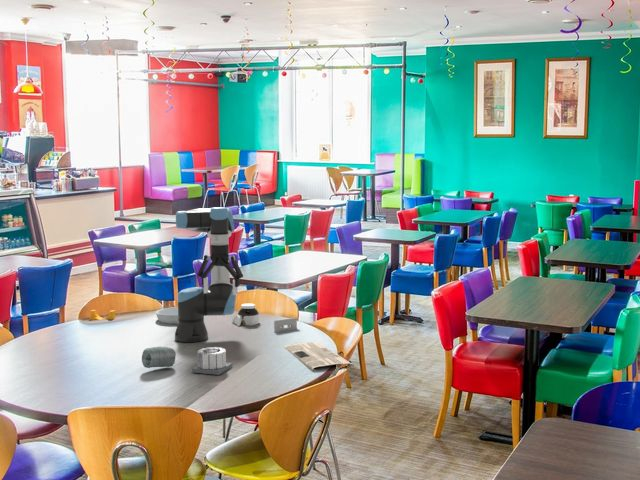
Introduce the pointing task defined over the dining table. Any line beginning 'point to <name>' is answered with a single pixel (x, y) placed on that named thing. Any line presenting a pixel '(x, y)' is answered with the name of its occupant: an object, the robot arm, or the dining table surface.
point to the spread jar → (246, 315)
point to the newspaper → (315, 355)
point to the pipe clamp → (96, 317)
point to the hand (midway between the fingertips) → (220, 293)
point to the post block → (212, 371)
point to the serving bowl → (168, 315)
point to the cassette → (289, 322)
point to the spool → (158, 357)
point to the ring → (211, 358)
